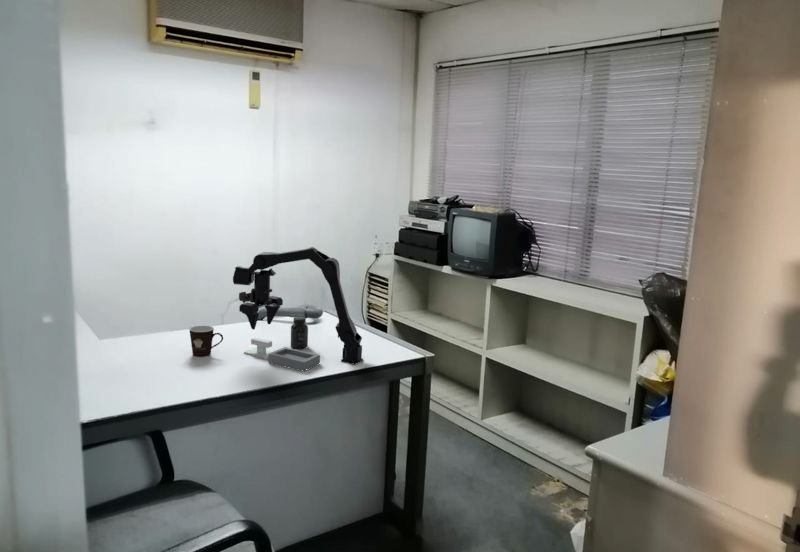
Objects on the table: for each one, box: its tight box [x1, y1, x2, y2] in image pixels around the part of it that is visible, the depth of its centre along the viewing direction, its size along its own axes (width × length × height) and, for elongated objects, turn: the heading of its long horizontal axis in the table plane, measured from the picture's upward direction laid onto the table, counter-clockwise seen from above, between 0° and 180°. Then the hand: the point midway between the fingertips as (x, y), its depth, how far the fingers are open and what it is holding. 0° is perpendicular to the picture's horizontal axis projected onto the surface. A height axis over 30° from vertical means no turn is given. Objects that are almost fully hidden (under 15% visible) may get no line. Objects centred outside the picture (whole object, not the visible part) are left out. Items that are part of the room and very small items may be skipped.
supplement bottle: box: [290, 316, 309, 350], centre depth 241 cm, size 7×7×12 cm
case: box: [267, 346, 321, 372], centre depth 222 cm, size 16×10×4 cm, turn 64°
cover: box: [243, 337, 273, 360], centre depth 230 cm, size 12×6×6 cm, turn 63°
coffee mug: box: [188, 325, 224, 358], centre depth 225 cm, size 12×9×10 cm
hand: (261, 326), depth 228 cm, fingers open, 9 cm apart
